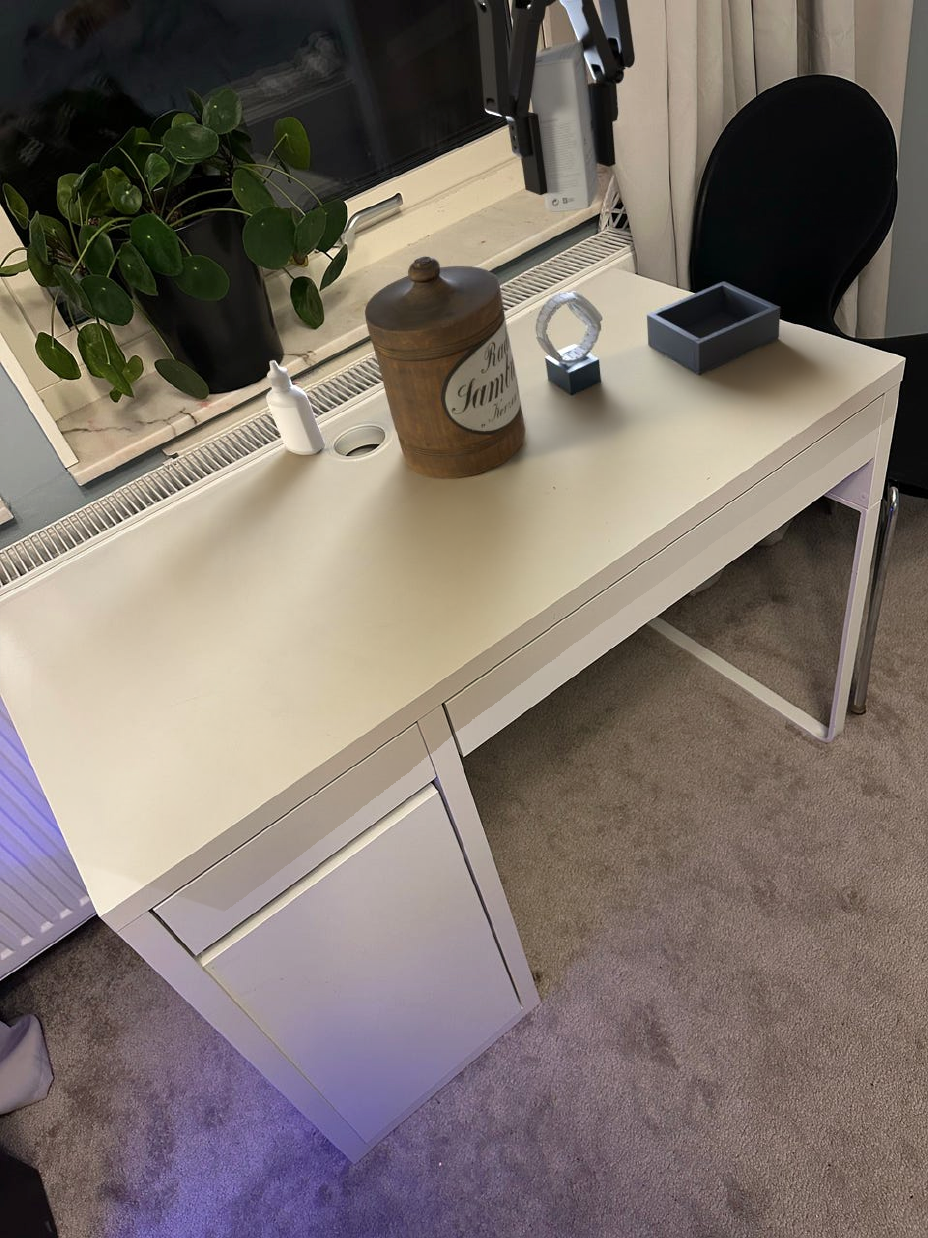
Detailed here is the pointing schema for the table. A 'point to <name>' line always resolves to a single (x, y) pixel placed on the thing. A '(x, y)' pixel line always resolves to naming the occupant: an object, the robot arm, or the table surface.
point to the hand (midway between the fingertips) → (570, 176)
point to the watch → (575, 362)
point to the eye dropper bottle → (293, 413)
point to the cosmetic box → (565, 127)
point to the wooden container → (447, 368)
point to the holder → (713, 327)
